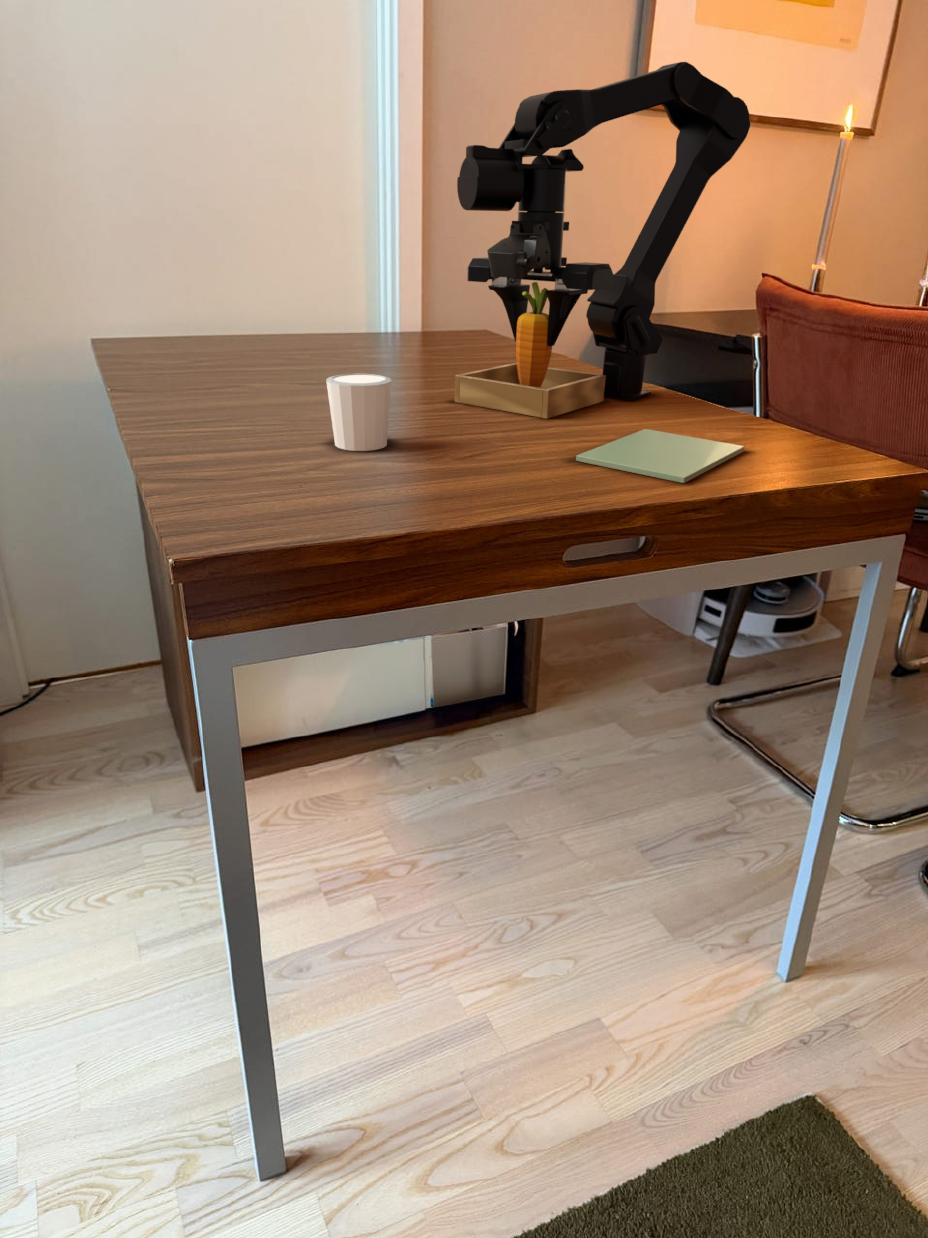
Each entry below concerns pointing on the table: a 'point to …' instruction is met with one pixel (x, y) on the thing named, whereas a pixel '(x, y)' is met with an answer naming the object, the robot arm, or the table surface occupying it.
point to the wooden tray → (529, 391)
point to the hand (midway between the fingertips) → (534, 343)
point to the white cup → (359, 410)
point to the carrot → (533, 341)
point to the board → (661, 455)
